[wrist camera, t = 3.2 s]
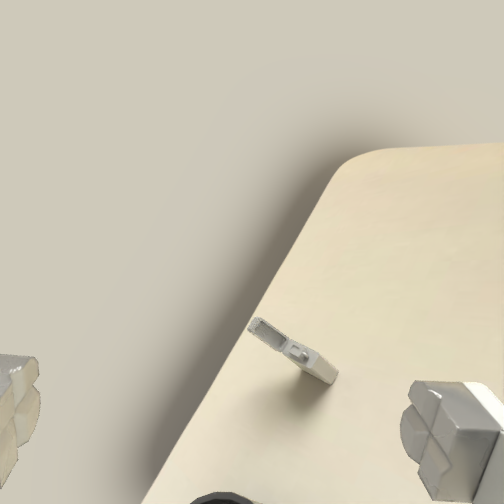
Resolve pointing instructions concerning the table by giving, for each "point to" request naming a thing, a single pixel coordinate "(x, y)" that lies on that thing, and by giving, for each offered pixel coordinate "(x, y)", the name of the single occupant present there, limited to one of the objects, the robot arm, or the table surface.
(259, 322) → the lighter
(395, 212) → the table surface
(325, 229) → the table surface
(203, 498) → the pan
